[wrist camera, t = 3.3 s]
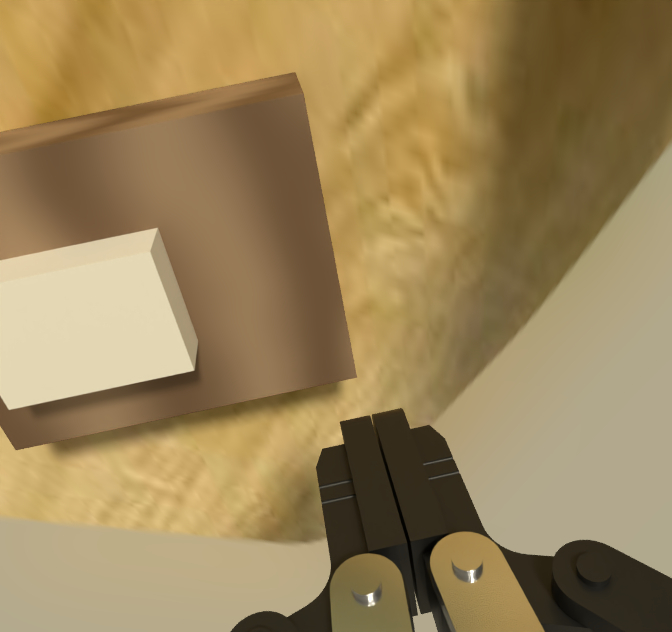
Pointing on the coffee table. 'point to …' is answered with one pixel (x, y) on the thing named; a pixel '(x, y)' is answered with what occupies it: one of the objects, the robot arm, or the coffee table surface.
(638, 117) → the coffee table surface
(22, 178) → the wooden block
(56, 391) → the tile
